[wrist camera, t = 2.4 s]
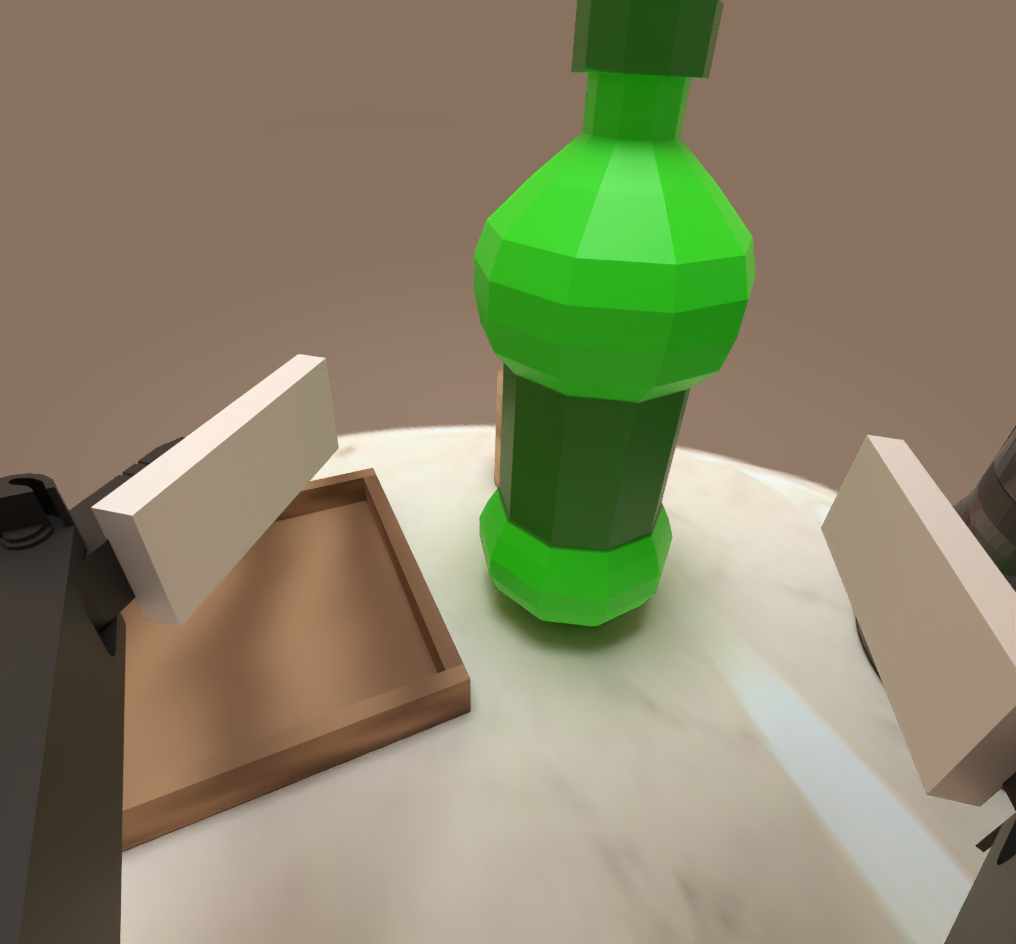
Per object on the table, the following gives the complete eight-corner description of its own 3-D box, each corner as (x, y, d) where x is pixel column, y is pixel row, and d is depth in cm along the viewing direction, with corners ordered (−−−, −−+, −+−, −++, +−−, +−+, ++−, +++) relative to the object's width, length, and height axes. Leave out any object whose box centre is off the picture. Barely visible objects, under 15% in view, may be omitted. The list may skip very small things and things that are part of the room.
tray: (376, 497, 37) (372, 467, 35) (470, 711, 25) (470, 679, 23) (78, 567, 31) (60, 535, 29) (8, 897, 19) (-29, 868, 17)
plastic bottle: (674, 675, 26) (918, -18, 12) (456, 650, 27) (440, -34, 13) (652, 536, 35) (782, 23, 20) (485, 519, 35) (495, 11, 21)
